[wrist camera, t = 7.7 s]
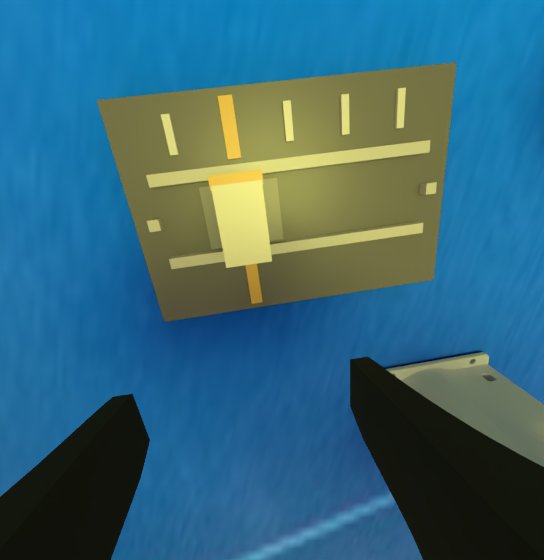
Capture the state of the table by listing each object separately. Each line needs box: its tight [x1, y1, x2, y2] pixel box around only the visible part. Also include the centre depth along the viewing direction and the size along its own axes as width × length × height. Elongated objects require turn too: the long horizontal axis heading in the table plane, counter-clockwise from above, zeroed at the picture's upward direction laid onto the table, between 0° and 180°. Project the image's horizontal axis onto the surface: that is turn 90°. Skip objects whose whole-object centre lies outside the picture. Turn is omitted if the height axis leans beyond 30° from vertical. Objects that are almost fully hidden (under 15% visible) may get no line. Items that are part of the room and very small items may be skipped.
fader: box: [199, 169, 283, 268], centre depth 12 cm, size 4×3×5 cm
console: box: [97, 62, 457, 322], centre depth 15 cm, size 18×12×2 cm, turn 97°
